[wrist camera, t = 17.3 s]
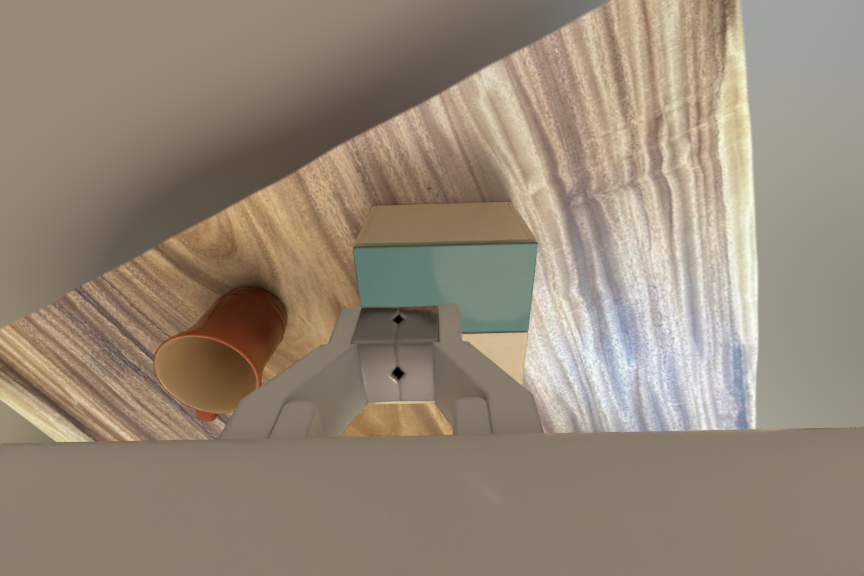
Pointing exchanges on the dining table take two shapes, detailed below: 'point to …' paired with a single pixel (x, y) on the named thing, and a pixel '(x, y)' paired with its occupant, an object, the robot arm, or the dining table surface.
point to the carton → (456, 228)
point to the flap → (453, 280)
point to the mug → (222, 352)
